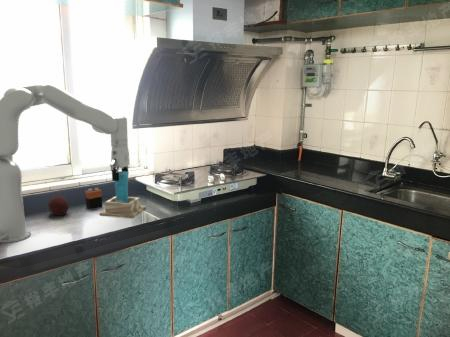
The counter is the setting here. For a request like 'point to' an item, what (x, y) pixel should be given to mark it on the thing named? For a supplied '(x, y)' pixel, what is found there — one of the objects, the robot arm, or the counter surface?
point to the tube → (122, 187)
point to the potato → (58, 205)
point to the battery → (93, 198)
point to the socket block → (122, 208)
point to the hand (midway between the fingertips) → (120, 178)
